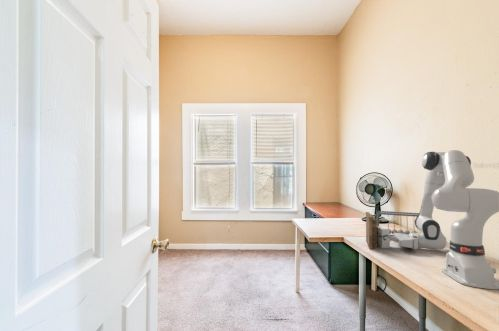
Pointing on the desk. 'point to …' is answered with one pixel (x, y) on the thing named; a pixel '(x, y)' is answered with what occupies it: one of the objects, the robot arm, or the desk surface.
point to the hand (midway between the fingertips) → (387, 238)
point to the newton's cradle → (400, 220)
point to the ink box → (383, 237)
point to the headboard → (371, 231)
